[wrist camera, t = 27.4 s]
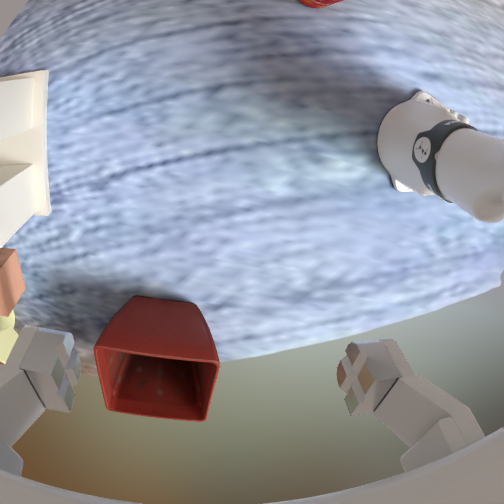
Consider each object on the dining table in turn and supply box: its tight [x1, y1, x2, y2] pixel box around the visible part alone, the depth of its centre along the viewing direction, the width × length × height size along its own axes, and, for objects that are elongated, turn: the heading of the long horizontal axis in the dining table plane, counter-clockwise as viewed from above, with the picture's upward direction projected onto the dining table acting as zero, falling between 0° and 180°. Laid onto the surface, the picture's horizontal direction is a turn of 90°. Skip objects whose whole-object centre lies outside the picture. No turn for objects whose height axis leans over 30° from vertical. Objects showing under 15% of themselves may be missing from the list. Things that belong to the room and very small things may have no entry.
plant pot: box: [94, 296, 220, 422], centre depth 54 cm, size 19×19×17 cm
